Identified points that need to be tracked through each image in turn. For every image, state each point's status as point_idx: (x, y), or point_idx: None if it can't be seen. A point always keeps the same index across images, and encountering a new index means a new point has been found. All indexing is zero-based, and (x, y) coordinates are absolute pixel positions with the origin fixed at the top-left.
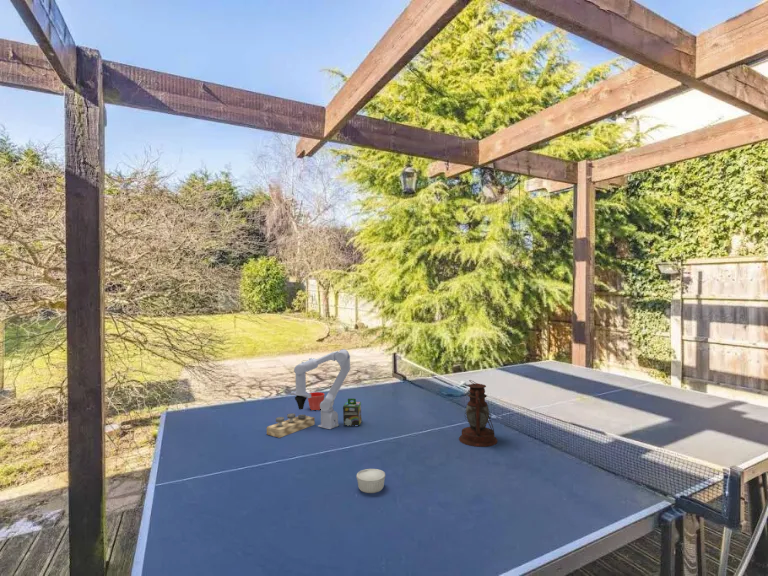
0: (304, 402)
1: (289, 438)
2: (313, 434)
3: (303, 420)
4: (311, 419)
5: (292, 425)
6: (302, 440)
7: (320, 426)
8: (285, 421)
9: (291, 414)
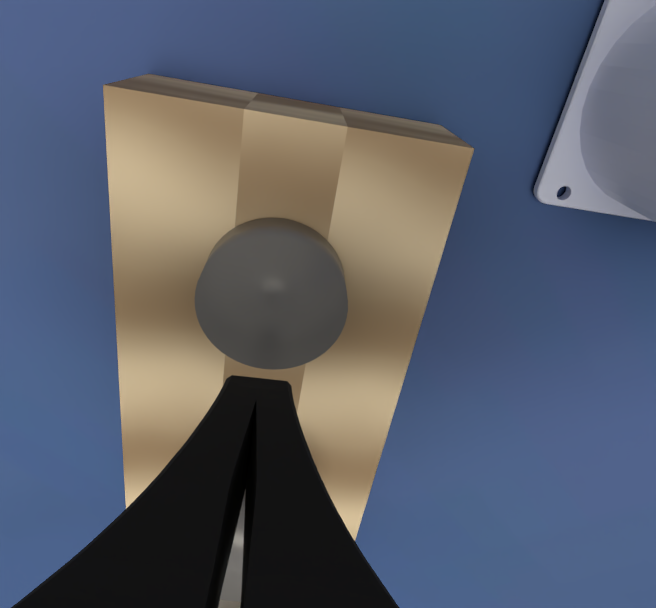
0: (336, 520)
1: (413, 550)
2: (588, 421)
3: (371, 354)
4: (444, 223)
5: (357, 531)
6: (547, 544)
7: (594, 211)
8: (158, 470)
9: (241, 559)
